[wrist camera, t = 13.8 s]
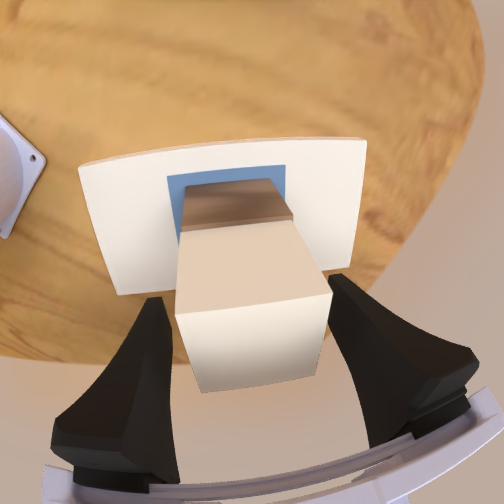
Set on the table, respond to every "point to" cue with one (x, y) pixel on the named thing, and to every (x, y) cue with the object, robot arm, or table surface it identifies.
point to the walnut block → (232, 204)
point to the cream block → (250, 305)
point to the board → (212, 171)
